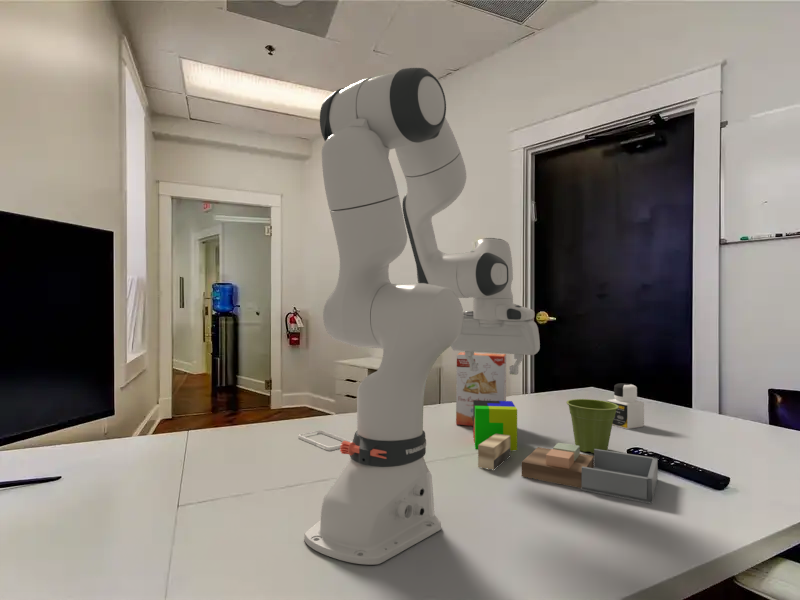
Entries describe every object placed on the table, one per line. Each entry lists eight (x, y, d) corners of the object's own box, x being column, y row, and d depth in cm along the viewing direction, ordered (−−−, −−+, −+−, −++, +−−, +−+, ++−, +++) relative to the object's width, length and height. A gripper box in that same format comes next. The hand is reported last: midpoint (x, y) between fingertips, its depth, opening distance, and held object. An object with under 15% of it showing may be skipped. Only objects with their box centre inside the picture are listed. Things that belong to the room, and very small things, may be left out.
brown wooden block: (582, 488, 94) (582, 472, 94) (521, 476, 100) (521, 461, 100) (593, 470, 104) (593, 456, 104) (537, 460, 110) (537, 447, 110)
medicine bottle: (606, 423, 143) (606, 383, 143) (623, 421, 146) (623, 381, 146) (627, 429, 137) (627, 387, 137) (644, 426, 140) (644, 385, 140)
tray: (652, 503, 86) (652, 479, 86) (581, 490, 93) (581, 467, 93) (657, 479, 98) (657, 458, 98) (594, 468, 105) (594, 448, 105)
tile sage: (575, 460, 101) (575, 451, 101) (553, 457, 103) (553, 447, 103) (579, 455, 104) (579, 445, 104) (558, 451, 107) (558, 442, 107)
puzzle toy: (511, 439, 127) (511, 401, 127) (517, 450, 117) (517, 409, 117) (473, 438, 128) (473, 400, 128) (475, 449, 118) (475, 408, 118)
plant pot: (603, 460, 110) (603, 411, 110) (556, 448, 119) (556, 402, 119) (627, 450, 117) (627, 404, 117) (582, 439, 126) (582, 396, 127)
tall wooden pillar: (493, 471, 104) (493, 447, 104) (478, 468, 105) (478, 445, 105) (510, 457, 113) (510, 435, 113) (496, 454, 115) (496, 433, 115)
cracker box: (455, 425, 141) (455, 353, 141) (459, 420, 147) (459, 351, 147) (504, 429, 137) (504, 355, 137) (506, 424, 143) (506, 353, 143)
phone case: (353, 447, 122) (320, 434, 133) (353, 441, 122) (321, 429, 133) (328, 453, 117) (297, 439, 128) (328, 447, 117) (297, 434, 128)
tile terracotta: (569, 468, 96) (569, 458, 96) (546, 464, 98) (546, 454, 98) (573, 462, 100) (573, 452, 100) (551, 458, 102) (551, 449, 102)
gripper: (445, 311, 112) (446, 371, 112) (533, 312, 101) (534, 378, 102) (456, 310, 117) (457, 367, 118) (541, 311, 107) (542, 373, 107)
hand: (493, 372), depth 109 cm, fingers open, 8 cm apart
